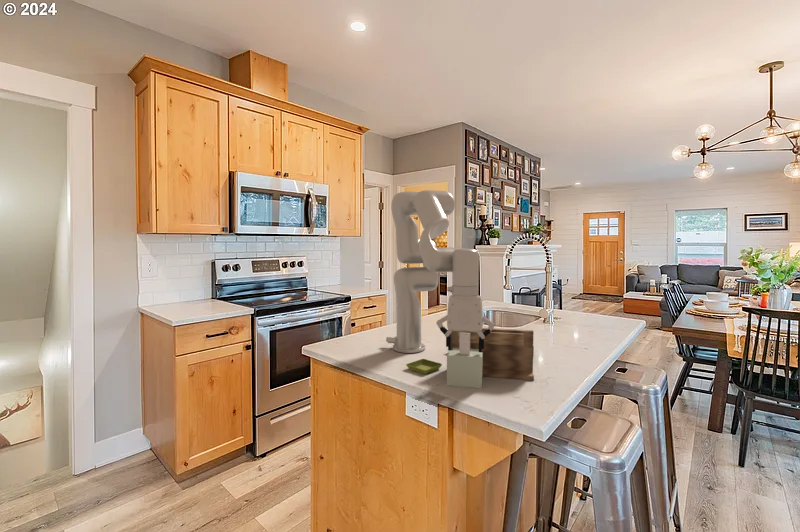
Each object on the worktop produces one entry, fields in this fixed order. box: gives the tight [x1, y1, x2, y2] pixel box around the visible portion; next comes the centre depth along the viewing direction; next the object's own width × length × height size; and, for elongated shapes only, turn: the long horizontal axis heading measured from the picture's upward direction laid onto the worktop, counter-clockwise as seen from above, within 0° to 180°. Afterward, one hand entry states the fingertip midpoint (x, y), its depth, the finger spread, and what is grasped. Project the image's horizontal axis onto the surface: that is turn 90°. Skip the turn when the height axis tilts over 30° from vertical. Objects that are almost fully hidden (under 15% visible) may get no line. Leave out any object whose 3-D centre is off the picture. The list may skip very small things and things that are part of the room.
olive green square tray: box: [405, 358, 443, 375], centre depth 130 cm, size 9×9×2 cm
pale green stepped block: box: [446, 332, 483, 389], centre depth 119 cm, size 10×9×15 cm
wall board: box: [451, 327, 535, 381], centre depth 125 cm, size 26×6×14 cm, turn 76°
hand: (464, 350), depth 117 cm, fingers open, 8 cm apart
